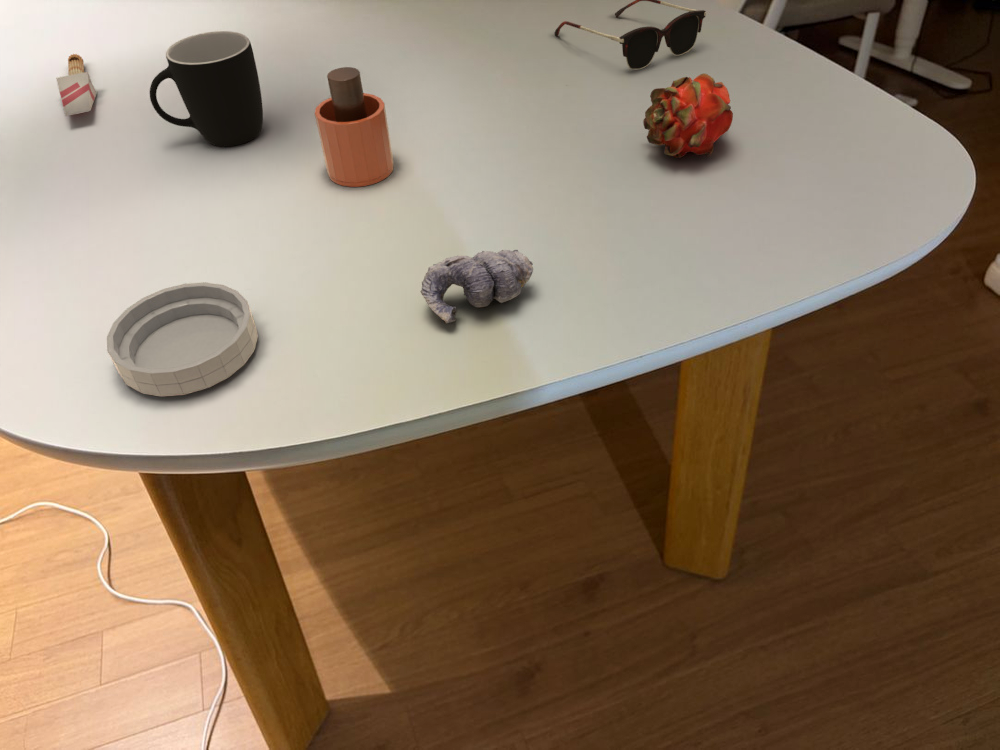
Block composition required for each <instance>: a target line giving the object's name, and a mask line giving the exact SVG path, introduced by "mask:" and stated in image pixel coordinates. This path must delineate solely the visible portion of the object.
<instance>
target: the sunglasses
mask: <svg viewBox="0 0 1000 750" xmlns="http://www.w3.org/2000/svg"><path fill="white" fill-rule="evenodd" d="M639 2H649V3H654V4H657V5H662V6H666V7H670V8H674V9H678V10H681V11H685V12H684V13H681V14H680V15H678V16H676V17H675V18H673V19H672V20H670V21H669V22H668V23H667V25H666V26H665V27H664V28H662V29H660V28H658V27H656V26H641V27H636V28H634V29H631V30H630V31H628V32H626V33H624V34H622V35H621V36H619V37H618V36H615V35H612V34H607V33H603V32H600V31H597V30H594V29H591V28H588V27H586V26H582V25H581V24H577V23H574V22H571V21H567V20H564V21H562V22H561V23H560V24H559V25H558V26H557V28H555V31H554V35H555V37H558V36H559V35H560V32H561V29H562V28H563V27H564V26H565V25H567V26H570V27H573V28H575V29H579V30H582V31H586V32H588V33H591V34H594V35H598V36H600V37H604V38H607V39H610V40H611V41H615V42H618V43H619V44H620V45H621V48H622V49H621V50H622V57H625V60H626V65H627V67H628V69H630V70H641V69H644V68H646V67H648V66H649V65H650V64H651V62H652V61H653V59H654V57H655V54H656V53H658V52H659V49H660V46H661V43H662V40H663V38H664V42H665V45H666V47H667V48H669V50H670V52H671V54H672V55H674V56H677V57H678V56H682V55H684V54H686V53H688V52H689V51H691V50H692V49H693V48H694V46H695V45H696V42H697V38H698V33H701V32H702V27H703V21H704V18H706V16H707V11H706V10H704V9H702V10H701V9H700V10H699V9H695V8H689V7H686V6H685V7H684V6H680V5H677V4H672V3H669V2H666V1H662V0H634V1H632V2H630V3H627V5H624V6H623V7H621V8H620V9H619V10H617V11H616V12H615V13H614V16H615V17H616V18H618V17H620V16H621V15H622V14H623V13H624V12H625V10H627V9H629V8H630V7H632V6H634V5H635V4H638V3H639Z"/></svg>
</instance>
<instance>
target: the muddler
mask: <svg viewBox="0 0 1000 750" xmlns="http://www.w3.org/2000/svg"><path fill="white" fill-rule="evenodd" d="M326 79H327V83H328V89H329V92H330V98H332V103H333V108H334V113H335V118H336V122H350V121H357V120H361V119H364V118H367V112H366V106H365V100H364V94H363V93H364V89H363V82H362V78H361V71H360V70H359V69H358V68H355V67H351V66H349V67H348V66H344V67H338V68H335V69H332V70H330V71H329V72H328V73H327V75H326Z"/></svg>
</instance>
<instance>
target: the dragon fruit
mask: <svg viewBox="0 0 1000 750" xmlns="http://www.w3.org/2000/svg"><path fill="white" fill-rule="evenodd" d="M649 97H650V102H651V105H650V106H649V107H648V108H647V109H646V110H645V112H644V118H643V121H642V123H643V128H644V130H648V133H647V135H646V139H647V142H648V143H649V144H652V145H655V146H662V145H664V149H663V151H664V155H666V156H670V157H673V158H676V159H680V158H682V157H684V156H685V155H686V154H687V153H689V152H690V153H693V154H695V155H697V156H701V155H705V157H709V156H710V155H712V154H713V152H714V149H715V148H714V147H715V146H714V143H715V142H716V141H718V140H719V139H720V137H721V136H724V135H725V134H726V133H727V132H728V131H729V130H730V128H731V126H732V123H733V117H734V112H733V111H732V110H731V109H732V108H731V105H730V103H731V98H730V93H729V90H728V88H727V86H725V84H724V83H723V82H722V81H719V82H718V81H717V82H716V81H715V79H714V77H712V76H711V75H709V74H708V73H700V74H699V75H697V76H696V77H695V78H693V79H692V78H691V77H688V76H684V77H681V78H678V79H676V80H675V79H674V80H673V81H672V82H671V85H670V86H667V87H659V88H657V87H656V88H654V89H653V90H652V91H651V92H650V95H649Z"/></svg>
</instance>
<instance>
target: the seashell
mask: <svg viewBox="0 0 1000 750" xmlns="http://www.w3.org/2000/svg"><path fill="white" fill-rule="evenodd" d="M533 265H534V263H533V261H530V259H529V257H528V256H526V255H525V254H524V253H522V252H520V251H519V250H518V249H514V250H510V249H502V250H499V251H498V252H494V251H488V250H487V251H486V250H481V251H479V252H476V254H475V255H473V256H472V257H471V256H468V255H454V256H450V257H446V258H444V259H443V260H441V261H440V262H437V263H434V264H433V265H430V266H429V267H428V269H427V272H425V275H424V277H423V280H422V281H421V290H420V293H421V295H422V298H423V299H424V300H425V302H426V304H427V305H428V307H429V308H430V310H431V311H433V313H434V314H435V315H437V317H439V318H440V319H441V320H443V321H444V322H445V325H447V324H450V323H453V322H456V321H457V319H456V315H457V313H458V309H457V306H452V305H450V304H448V303H447V302H446V301H445V300H444V296H445V294H446V293H447V291H448V289H449V288H451V286H452V285H455V286H458V287H461V288H462V289H463V296H464V297H465V298H466V301H468V303H469V304H470V305H471V306H473V307H474V308H485V307H488V306H489V305H490V304H491V303H492V302H493V301H494V300H496V301H497V302H499V303H500V304H504V303H505V302H508V301H511V300H513V299H514V298H516V297H518V296H519V295H520V294H521V292H522V288H523V287H525V285H526V283H527V282H528V281H530V279H531V278H532V274H533V273H534V267H533Z"/></svg>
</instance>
